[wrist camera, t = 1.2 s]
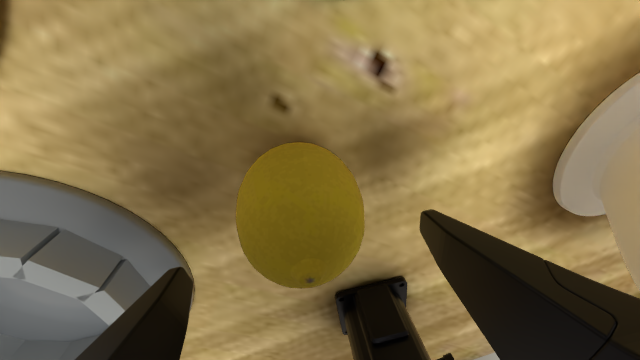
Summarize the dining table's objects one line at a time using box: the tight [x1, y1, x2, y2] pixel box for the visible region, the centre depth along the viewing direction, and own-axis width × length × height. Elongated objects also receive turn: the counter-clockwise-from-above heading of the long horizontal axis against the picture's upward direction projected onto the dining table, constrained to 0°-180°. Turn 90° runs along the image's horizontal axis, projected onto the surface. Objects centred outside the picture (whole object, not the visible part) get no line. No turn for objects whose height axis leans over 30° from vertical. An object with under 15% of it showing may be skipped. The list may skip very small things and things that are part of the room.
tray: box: [0, 171, 195, 360], centre depth 14 cm, size 18×18×3 cm
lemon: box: [236, 142, 365, 288], centre depth 11 cm, size 6×6×8 cm
